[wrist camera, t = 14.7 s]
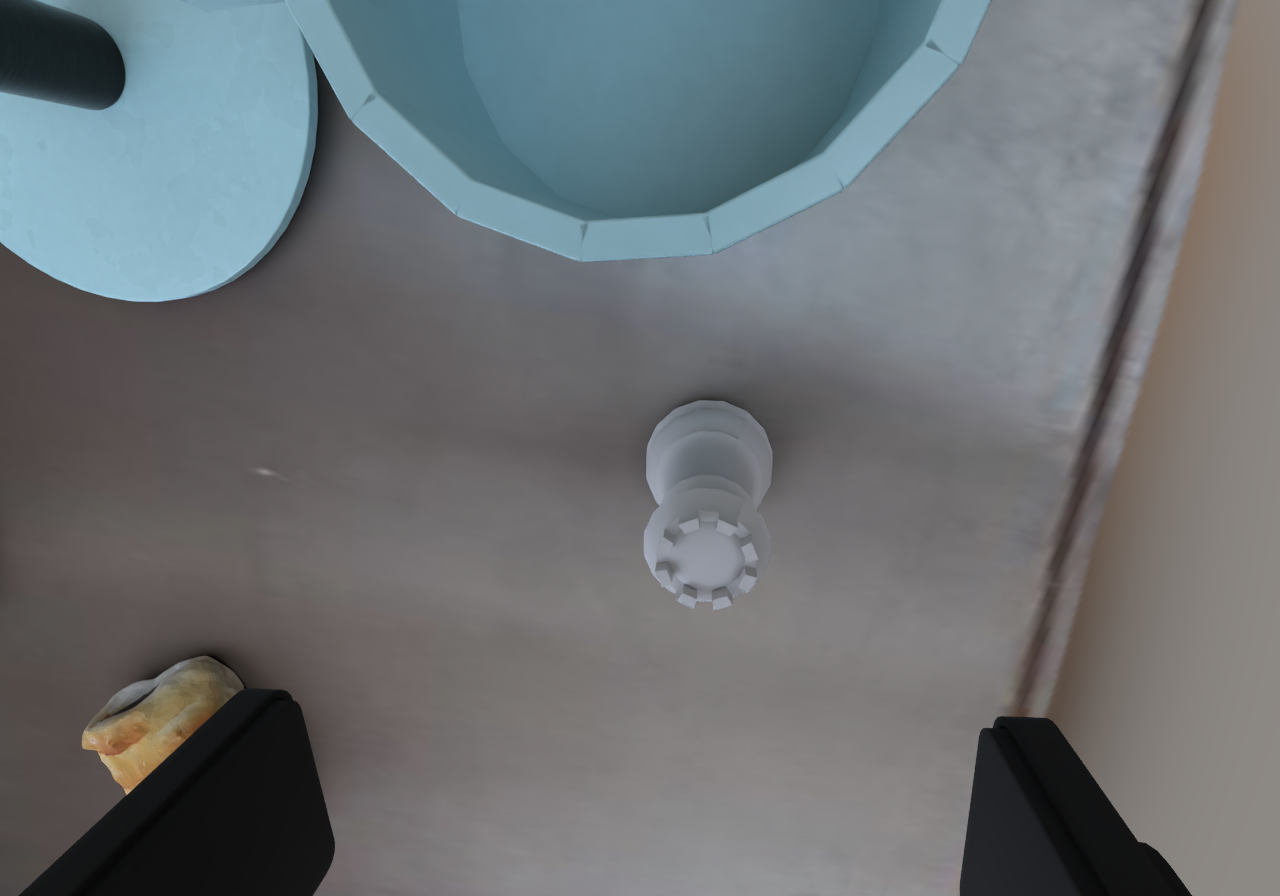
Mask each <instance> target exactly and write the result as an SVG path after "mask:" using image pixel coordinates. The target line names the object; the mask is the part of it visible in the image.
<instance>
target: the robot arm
mask: <svg viewBox="0 0 1280 896" xmlns="http://www.w3.org/2000/svg"><path fill="white" fill-rule="evenodd" d="M334 851H335V841H334V836H333V832H332V828H331V824H330V821H329V817H328V813H327V809H326V805H325V801H324V797H323V793H322V789H321V785H320V781H319V777H318V773H317V769H316V765H315V761H314V757H313V753H312V749H311V745H310V741H309V737H308V733H307V729H306V725H305V721H304V718H303V714H302V710H301V707H300V705H299V704H298V703H297V702H296V701H293V699H292V697H291V695H290V694H289V693H288V692H287V691H285V690H275V689H248V688H247V689H244V690H241V691H239V692H238V693H236V694H235V695H234V696H233V697H232V698H230V699H229V700H228V701H227V702H226V703H225V704H224V705H223V706H222V707H221V708H220V709H219V710H218V711H216V712H215V713H214V714H213V715H212V716H211V717H210V718H209V719H208V720H207V721H206V722H205V723H204V724H203V725H201V726H200V727H199V728H198V729H197V730H196V731H195V732H194V733H193V734H192V735H191V736H190V737H189V738H187V739H186V740H185V741H184V742H183V743H182V744H181V745H180V746H179V747H178V748H177V749H176V750H175V751H174V752H172V753H171V754H170V755H169V756H168V757H167V758H166V759H165V760H164V761H163V762H162V763H161V764H160V765H158V766H157V767H156V768H155V769H154V770H153V771H152V772H151V773H150V774H149V775H148V776H147V777H146V778H145V779H143V780H142V781H141V782H140V783H139V784H138V785H137V786H136V787H135V788H134V789H133V790H132V791H131V792H129V793H128V794H127V795H126V796H125V797H124V798H123V799H122V800H121V801H120V802H119V803H118V804H117V805H116V806H114V807H113V808H112V809H111V810H110V811H109V812H108V813H107V814H106V815H105V816H104V817H103V818H102V819H100V820H99V821H98V822H97V823H96V824H95V825H94V826H93V827H92V828H91V829H90V830H89V831H88V832H87V833H85V834H84V835H83V836H82V837H81V838H80V839H79V840H78V841H77V842H76V843H75V844H74V845H73V846H72V847H70V848H69V849H68V850H67V851H66V852H65V853H64V854H63V855H62V856H61V857H60V858H59V859H58V860H56V861H55V862H54V863H53V864H52V865H51V866H50V867H49V868H48V869H47V870H46V871H45V872H44V873H43V874H41V875H40V876H39V877H38V878H37V879H36V880H35V881H34V882H33V883H32V884H31V885H30V886H29V887H27V888H26V889H25V890H24V891H23V892H22V893H21V894H20V895H19V896H313V894H314V893H315V891H316V890H317V888H318V886H319V885H320V883H321V882H322V880H323V878H324V877H325V875H326V874H327V872H328V870H329V868H330V866H331V863H332V860H333V856H334ZM960 896H1192V895H1191V894H1190V892H1189V891H1188V889H1187V888H1186V887H1185V885H1184V884H1183V883H1182V881H1181V880H1180V878H1179V877H1178V876H1177V874H1176V873H1175V872H1174V870H1173V869H1172V868H1171V866H1170V865H1169V864H1168V863H1167V861H1166V860H1165V859H1164V858H1163V857H1162V856H1161V855H1160V853H1159V852H1158V851H1157V850H1155V849H1154V848H1152V847H1151V846H1149V845H1148V844H1146V843H1142V842H1138V841H1137V839H1136V838H1135V836H1134V835H1133V834H1132V832H1131V831H1130V829H1129V828H1128V827H1127V825H1126V824H1125V822H1124V821H1123V819H1122V818H1121V817H1120V815H1119V814H1118V812H1117V811H1116V809H1115V808H1114V807H1113V805H1112V804H1111V802H1110V801H1109V800H1108V798H1107V797H1106V795H1105V794H1104V792H1103V791H1102V790H1101V788H1100V787H1099V785H1098V784H1097V783H1096V781H1095V780H1094V778H1093V777H1092V775H1091V774H1090V772H1089V771H1088V770H1087V768H1086V767H1085V765H1084V764H1083V763H1082V761H1081V760H1080V758H1079V757H1078V755H1077V754H1076V753H1075V751H1074V750H1073V748H1072V747H1071V745H1070V744H1069V743H1068V741H1067V740H1066V738H1065V737H1064V735H1063V734H1062V733H1061V731H1060V730H1059V728H1058V727H1057V726H1056V725H1055V724H1054V722H1053V721H1051V720H1050V719H1048V718H1032V717H1005V716H1001V717H997V719H996V720H995V722H994V726H993V728H983V729H982V730H981V732H980V736H979V742H978V750H977V757H976V765H975V773H974V780H973V788H972V795H971V803H970V811H969V818H968V826H967V833H966V841H965V849H964V856H963V864H962V872H961V879H960Z"/></svg>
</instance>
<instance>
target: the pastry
mask: <svg viewBox="0 0 1280 896" xmlns="http://www.w3.org/2000/svg"><path fill="white" fill-rule="evenodd" d="M241 690H244V685H243V684H242V682H241V681H240V680H239V678H238V677H237V675H236V674H235V673H234V672H233V671H232V670H230V669H229V668H227V667H226V666H224V665H223V664H221V663H220V662H218V661H217V660H215V659H213V658H211V657H208V656H200V657H196V658H192V659H188V660H185V661H182V662H179V663H177V664H175V665H174V666H172V667H171V668H170V669H168V670H166V671H164V672H163V673H162V674H160V675H159V676H158V677H157V678H155V679H152V680H143V681H138V682H135V683H132V684H131V685H129V686H128V687H126V688H123V689H121V690H120V691H119V692H118V693H117V694H115V695H114V696H113V697H112V698H111V699H110V701H109V702H108V703H107V705H106V706H105V707H104V708H103V709H101V711H100V712H99V713H98V714H97V715H96V716H95V717H94V718H93V719H92V720H91V722H90V723H89V724H88V726H87V727H86V729H85V731H84V732H83V736H82V747H83V748H84V749H87V750H97V751H98V753H99V755H100V757H101V760H102V761H103V762H104V763H105V764H106V766H107V767H108V768H109V769H110V771H111V773H112V775H113V777H114V779H115V781H117V782H118V783H119V784H121V785H122V787H123V788H124V790H125V793H126V795H127V794H128V793H129V792H131V791H132V790H133V789H134V788H135V787H136V786H137V785H138V784H139V783H140V782H141V781H142V780H143V779H145V778H146V777H147V776H148V775H149V774H150V773H151V772H152V771H153V770H154V769H155V768H156V767H157V766H158V765H160V764H161V763H162V762H163V761H164V760H165V759H166V758H167V757H168V756H169V755H170V754H171V753H172V752H174V751H175V750H176V749H177V748H178V747H179V746H180V745H181V744H182V743H183V742H184V741H185V740H186V739H187V738H189V737H190V736H191V735H192V734H193V733H194V732H195V731H196V730H197V729H198V728H199V727H200V726H201V725H203V724H204V723H205V722H206V721H207V720H208V719H209V718H210V717H211V716H212V715H213V714H214V713H215V712H216V711H218V710H219V709H220V708H221V707H222V706H223V705H224V704H225V703H226V702H227V701H228V700H229V699H230V698H232V697H233V696H234V695H235V694H236V693H238V692H239V691H241Z"/></svg>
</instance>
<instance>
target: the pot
mask: <svg viewBox="0 0 1280 896" xmlns="http://www.w3.org/2000/svg"><path fill="white" fill-rule="evenodd" d="M181 1H183V2H186V3H188V4H190V5H192V6H195V7H197V8H199V9H202V10H204V11H212V10H220V9H229V8H238V7H246V6H255V5H264V4H272V3H281V2H286V4H287V6H288V8H289V10H290V11H291V13H292V15H293V17H294V19H295V21H296V22H297V24H298V26H299V28H300V30H301V32H302V33H303V35H304V37H305V39H306V41H307V43H308V44H309V46H310V48H311V50H312V52H313V53H314V55H315V57H316V59H317V61H318V63H319V64H320V66H321V68H322V70H323V72H324V74H325V75H326V77H327V79H328V81H329V83H330V85H331V86H332V88H333V90H334V92H335V94H336V95H337V97H338V99H339V101H340V103H341V105H342V106H343V108H344V110H345V112H346V114H347V116H348V117H349V118H350V119H351V120H352V122H353V123H354V124H355V125H356V126H357V127H358V128H359V129H360V130H361V131H363V132H364V133H365V134H366V135H367V136H368V137H369V138H370V139H371V140H372V141H374V142H375V143H376V144H377V145H378V146H379V147H380V148H381V149H382V150H384V151H385V152H386V153H387V154H388V155H389V156H390V157H391V158H392V159H394V160H395V161H396V162H397V163H398V164H399V165H400V166H401V167H402V168H404V169H405V170H406V171H407V172H408V173H409V174H410V175H411V176H412V177H414V178H415V179H416V180H417V181H418V182H419V183H420V184H421V185H422V186H424V187H425V188H426V189H427V190H428V191H429V192H430V193H431V194H432V195H433V196H435V197H436V198H437V199H438V200H439V201H440V202H441V203H442V204H443V205H445V206H446V207H447V208H448V209H449V210H450V211H451V212H452V213H453V214H455V215H457V216H458V217H459V218H462V219H464V220H467V221H470V222H473V223H475V224H478V225H481V226H483V227H486V228H489V229H492V230H494V231H497V232H500V233H503V234H505V235H508V236H511V237H513V238H516V239H519V240H522V241H524V242H527V243H530V244H532V245H535V246H538V247H541V248H543V249H546V250H549V251H551V252H554V253H557V254H560V255H562V256H565V257H568V258H570V259H573V260H576V261H582V262H595V261H612V260H630V259H647V258H664V257H682V256H699V255H711V254H713V252H714V253H718V252H720V251H722V250H724V249H726V248H728V247H730V246H732V245H735V244H737V243H739V242H741V241H743V240H745V239H747V238H749V237H751V236H753V235H755V234H757V233H759V232H761V231H763V230H765V229H767V228H769V227H771V226H773V225H775V224H777V223H779V222H781V221H783V220H785V219H787V218H789V217H792V216H794V215H796V214H798V213H800V212H802V211H804V210H806V209H808V208H810V207H812V206H814V205H816V204H818V203H820V202H822V201H824V200H826V199H828V198H830V197H832V196H834V195H836V194H838V193H840V192H842V191H843V189H844V188H847V187H848V186H849V185H850V184H851V183H852V182H853V181H854V180H855V179H856V178H857V177H858V176H859V175H860V174H861V173H862V172H863V171H864V169H865V168H866V167H867V166H868V165H869V164H870V163H871V162H872V161H873V160H874V159H875V158H876V157H877V156H878V155H879V153H880V152H881V151H882V150H883V149H884V148H885V147H886V146H887V145H888V144H889V143H890V142H891V141H892V140H893V139H894V137H895V136H896V135H897V134H898V133H899V132H900V131H901V130H902V129H903V128H904V127H905V126H906V125H907V124H908V123H909V121H910V120H911V119H912V118H913V117H914V116H915V115H916V114H917V113H918V112H919V111H920V110H921V109H922V108H923V107H924V105H925V104H926V103H927V102H928V101H929V100H930V99H931V98H932V97H933V96H934V95H935V94H936V93H937V92H938V91H939V89H940V88H941V87H942V86H943V85H944V84H945V83H946V82H947V81H948V80H949V79H950V78H951V77H952V76H953V75H954V74H955V72H956V71H957V70H958V68H959V66H960V65H961V64H962V63H963V62H964V60H965V58H966V56H967V53H968V51H969V49H970V47H971V45H972V42H973V40H974V38H975V36H976V34H977V31H978V29H979V27H980V25H981V23H982V20H983V18H984V16H985V14H986V12H987V10H988V7H989V5H990V3H991V1H992V0H181Z"/></svg>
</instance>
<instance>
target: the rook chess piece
mask: <svg viewBox="0 0 1280 896" xmlns="http://www.w3.org/2000/svg"><path fill="white" fill-rule="evenodd" d="M772 453H773V452H772V449H771V446H770V444H769V441H768V438H767V435H766V432H765V430H764V428H763V427H762V426H761V425H760V424H759V423H758V422H757V421H756V420H755V419H754V418H753V417H752V416H751V415H750V414H749V413H748V412H747V411H745V410H743V409H741V408H738V407H736V406H734V405H732V404H729V403H727V402H725V401H705V400H698V401H695V402H692V403H690V404H687V405H684V406H681V407H678V408H676V409H674V410H673V411H672V412H671V413H670V414H669V415H667V416H666V417H665V418H664V419H663V420H662V421H661V422H660V423H659V424H657V426H656V428H655V430H654V432H653V434H652V437H651V439H650V441H649V443H648V445H647V455H646V479H647V482H648V484H649V486H650V489H651V491H652V494H653V496H654V498H655V500H656V502H657V503H658V504H659V505H660V506H659V508H657V509H656V510H655V511H654V512H653V514H652V516H651V519H650V521H649V523H648V525H647V527H646V529H645V531H644V556H645V558H646V561H647V563H648V565H649V567H650V570H651V572H652V574H653V576H654V577H655V578H656V579H657V580H658V581H659V582H660V584H661V587H662V588H663V587H666V588H667V589H668V590H669V591H670V592H672V593H675V594H677V595H676V602H679V603H681V604H683V605H686V606H688V607H690V608H692V609H694V607H695V604H696V601H701V602H713V608H714V610H718V609H721V608H725V607H728V606H732V605H733V598H734V597H737V596H740V595H741V594H742V593H744V592H746V593H749V591H750V589H751V588H752V586H753V585H754V584H756V583H757V582H758V581H759V579H760V577H761V576H762V574H763V572H764V570H765V569H766V567H767V565H768V563H769V560H770V548H771V537H770V535H769V532H768V529H767V527H766V524H765V521H764V519H763V517H762V516H761V515H760V514H759V513H758V512H757V511H756V509H757V508H758V507H759V505H760V503H761V501H762V500H763V498H764V496H765V494H766V492H767V490H768V489H769V487H770V485H771V476H772V464H773V460H772Z"/></svg>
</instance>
